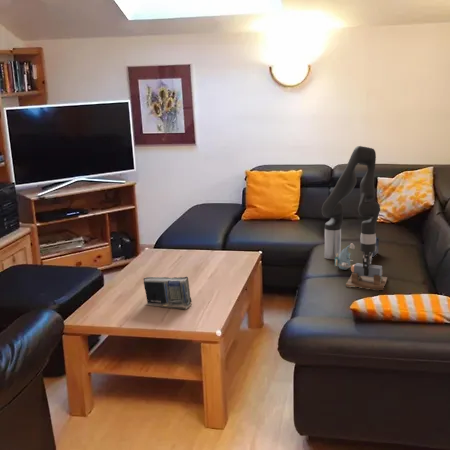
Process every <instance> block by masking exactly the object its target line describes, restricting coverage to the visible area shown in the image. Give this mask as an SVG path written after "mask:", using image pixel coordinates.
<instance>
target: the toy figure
mask: <svg viewBox="0 0 450 450" xmlns="http://www.w3.org/2000/svg"><path fill="white" fill-rule="evenodd" d="M355 248H356V246H355V244H354V243H353V242H351V243H350V244H349V245H347V246H346V247H344V248H343V249H342V250H341V253H340V255H339V259H338V253H337V254H336V257H335V259H334V266H335V267H338V268H339V269H340V270H343V271H346V270H348V269H349V268H350V269H351V267H352V263H351V261H352V262H353V261H354V260H352V259H351V252H349V249H351V250H355Z"/></svg>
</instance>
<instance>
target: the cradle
mask: <svg viewBox="0 0 450 450" xmlns="http://www.w3.org/2000/svg"><path fill="white" fill-rule="evenodd" d="M383 274H384V271H383V270H382V276H381V277H380V276H379V275H374V277H366V276H359V275H358V273H353V272H351V275H350V277H349V278H348V280H347V282H346V283H345V287H346V286H355V287H362V288H370V289H376V290H375V291H379V290H383V291H384V289H385V287H384V286H386V284H387V282H388V277H386V276H383ZM383 288H384V289H383Z"/></svg>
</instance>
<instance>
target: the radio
mask: <svg viewBox="0 0 450 450" xmlns="http://www.w3.org/2000/svg"><path fill="white" fill-rule="evenodd" d="M188 277H189V276H184V277H183V276H180V277H175V276H174V277H168V276H167V277H166V276H159V277H158V276H155V277H154V276H147V277H143V286H144V290H145V292H144V293H145V296H146V302H147V303H145V306H149V307H156V308H158V307H159V308H167V309H175V310H176V309H177V310H184V311H185V310H187V309H188V308H190V307H191V306H192V305H193V304H192V302H193V301H192V297H191V292H190V291H191V289H190V283H189V278H188Z"/></svg>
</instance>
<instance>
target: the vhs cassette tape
mask: <svg viewBox="0 0 450 450" xmlns="http://www.w3.org/2000/svg"><path fill="white" fill-rule="evenodd" d="M379 240H380V238H379V237H377V236H376V250H375V251H374V252H372V257H374V256H375V255H376V254H377V253H378V254H379V244H380V243H379V242H380V241H379ZM363 255H364V252H362V256H363ZM376 256H377V255H376ZM376 256H375V257H376ZM375 257H374V258H375Z"/></svg>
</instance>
